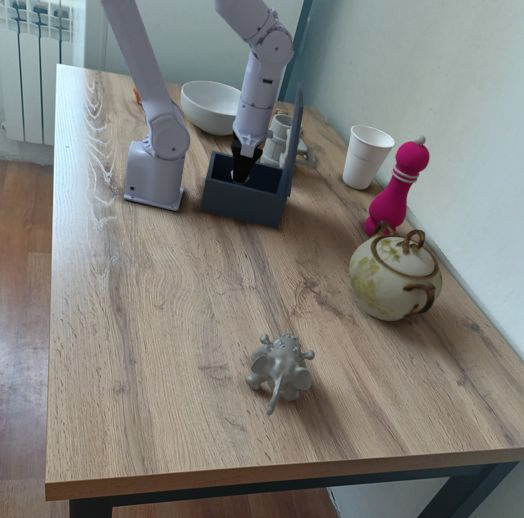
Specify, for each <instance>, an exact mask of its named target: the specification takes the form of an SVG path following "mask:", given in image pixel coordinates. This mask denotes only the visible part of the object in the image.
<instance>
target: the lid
mask: <svg viewBox="0 0 524 518" xmlns="http://www.w3.org/2000/svg"><path fill="white" fill-rule="evenodd" d="M295 91H296V92H295V99H294V106H293V112H292V116H293V119H292V126H291V133H290V141H289V148H288V155H287V162H286V197H287V198H291V195H292V187H293V181H294V175H295V167H296V165H298V166H306V168H307V169H309V170H313V169H314V168H315V167H316V155H315V150H314V149H313V148H312V147H309V148H308V147H307V148H308V149H307V150H298V142H299V135H300V129H301V123H302V121H303V114H304V108H305V107H304V95H303V94H304V93H303V82H302V81H297V84H296V90H295ZM300 136H301V135H300ZM303 155H305V156H306V159H299V158H297V156H303Z"/></svg>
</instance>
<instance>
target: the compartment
mask: <svg viewBox="0 0 524 518" xmlns="http://www.w3.org/2000/svg"><path fill="white" fill-rule="evenodd" d="M232 170H233V155H231V154H229V153H223V152H220V151H216V150H213V149H212V150H211V153H210V157H209V163H208V166H207V172H206V175H205V181H204V182H205V183H204V186H203V192H202V196H201V202H200V208H199V212H204V213H208V214H212V215H215V216H220V217H225V218H228V219H232V220H237V221H242V222H245V223H250V224H254V225H259V226H262V227H263V226H264V227H266V228H272V229H276V230H279V228H280V224H281V222H282V219H283V215H284V212H285V209H286V205H287V202H288V197H286V169H284V168H280V167H276V166H272V165H268V164H264V163H261V161H260V162H259V161H256V163H255V164H254V166H253V167H252V169H251V171H250V173H249V180H248V181H247V182H246V183H245V184H243V185H242V186H240V185H236V184H234V182H233V179H232V175H231V171H232Z"/></svg>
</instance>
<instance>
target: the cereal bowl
mask: <svg viewBox="0 0 524 518" xmlns="http://www.w3.org/2000/svg"><path fill="white" fill-rule="evenodd" d="M240 95H241V90H240V89H238V88H236V87H233V86H231V85H227V84H226V83H225V84H224V83H221V82H217V81H210V80H192V81H189V82H185V83H184V84H183V85H182V87H181V90H180V106H181V111H182V113H183V114H184V115H185V117H186V118H187V119H188V121H190V122H191V123H192V124H193V125H195V126H196V127H198V128H199V129H200V130H202V131H203V132H205V133H207V134H208V135H209V134H210V135H214V136H221V137H224V136H229V135H231V136H232V135H233V123H234V121H235V119H236V114H237V109H238V104H239V100H240Z"/></svg>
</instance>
